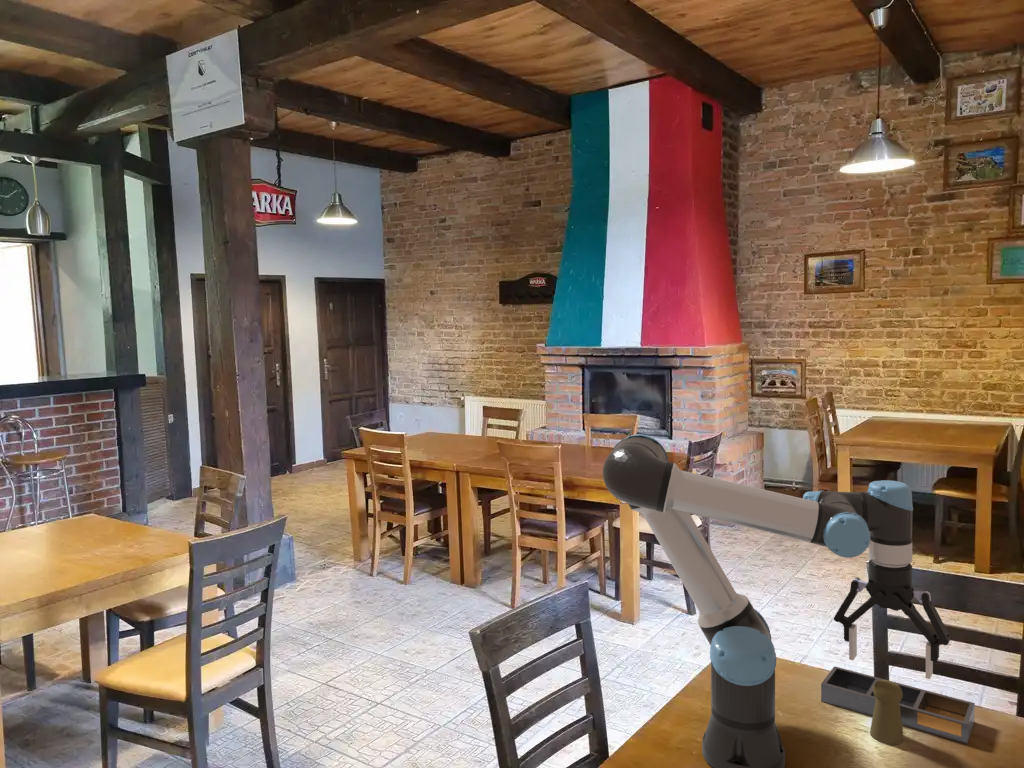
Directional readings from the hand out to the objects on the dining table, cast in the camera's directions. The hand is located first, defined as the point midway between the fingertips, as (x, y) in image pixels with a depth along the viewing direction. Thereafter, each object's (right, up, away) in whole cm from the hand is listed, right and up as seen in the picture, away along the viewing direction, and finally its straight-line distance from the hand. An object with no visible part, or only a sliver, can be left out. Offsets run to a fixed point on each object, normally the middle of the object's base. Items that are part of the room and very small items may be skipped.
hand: (889, 666), depth 145 cm
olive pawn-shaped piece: (0, -15, +1) cm, 15 cm away
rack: (+6, -13, +10) cm, 18 cm away
